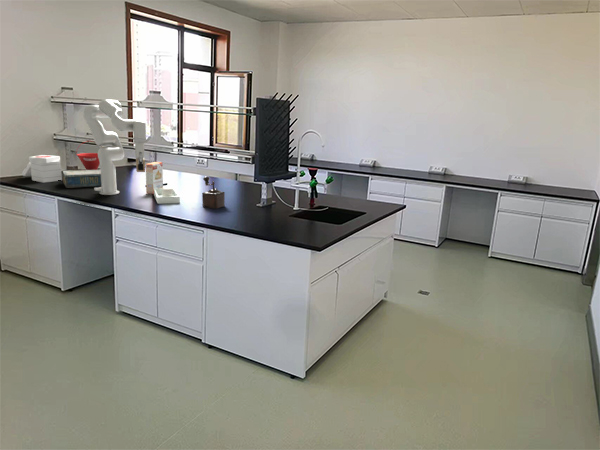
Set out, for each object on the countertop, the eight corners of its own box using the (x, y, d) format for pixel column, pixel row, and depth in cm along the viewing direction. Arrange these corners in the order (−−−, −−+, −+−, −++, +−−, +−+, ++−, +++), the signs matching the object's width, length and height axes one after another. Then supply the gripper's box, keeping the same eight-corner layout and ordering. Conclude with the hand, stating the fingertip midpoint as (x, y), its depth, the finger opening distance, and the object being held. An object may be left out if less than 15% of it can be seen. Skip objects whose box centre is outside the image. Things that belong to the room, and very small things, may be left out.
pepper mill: (225, 206, 295) (225, 178, 290) (215, 209, 285) (215, 180, 281) (205, 203, 301) (205, 175, 297) (195, 206, 291) (195, 177, 287)
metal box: (114, 186, 343) (113, 173, 340) (65, 188, 326) (64, 174, 324) (109, 181, 360) (108, 168, 358) (62, 183, 344) (61, 170, 341)
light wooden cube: (136, 172, 292) (136, 159, 290) (136, 170, 297) (136, 158, 295) (145, 172, 294) (144, 159, 292) (144, 170, 299) (144, 158, 296)
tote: (157, 205, 289) (157, 197, 288) (153, 195, 315) (153, 188, 314) (179, 204, 294) (179, 196, 293) (174, 195, 320) (174, 188, 319)
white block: (163, 202, 293) (162, 189, 291) (162, 200, 298) (161, 188, 296) (173, 201, 295) (173, 189, 293) (172, 199, 301) (171, 187, 299)
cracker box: (154, 194, 320) (152, 164, 314) (146, 193, 321) (144, 163, 316) (163, 190, 333) (162, 162, 328) (156, 190, 334) (155, 161, 329)
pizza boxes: (43, 175, 370) (41, 153, 366) (66, 180, 355) (64, 156, 351) (19, 178, 355) (16, 154, 350) (41, 183, 340) (39, 158, 335)
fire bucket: (78, 180, 355) (75, 141, 348) (76, 176, 372) (73, 139, 364) (108, 179, 366) (106, 141, 358) (105, 176, 382) (102, 139, 374)
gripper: (132, 139, 296) (133, 167, 301) (134, 142, 281) (134, 171, 286) (145, 139, 299) (145, 167, 304) (146, 142, 284) (147, 171, 289)
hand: (140, 169), depth 295 cm, fingers closed on light wooden cube, 5 cm apart
